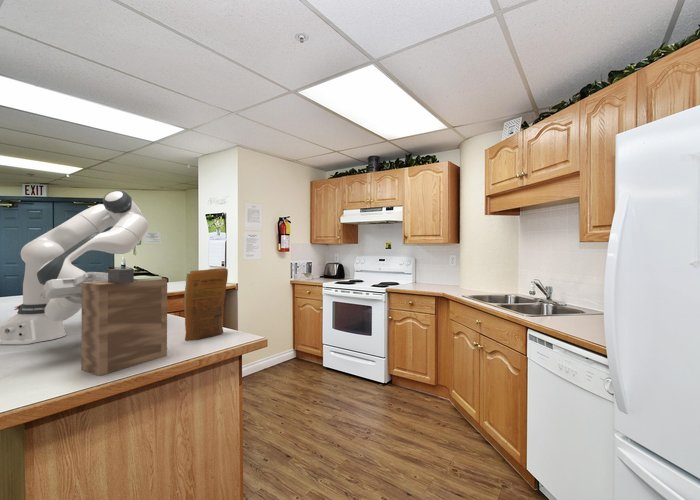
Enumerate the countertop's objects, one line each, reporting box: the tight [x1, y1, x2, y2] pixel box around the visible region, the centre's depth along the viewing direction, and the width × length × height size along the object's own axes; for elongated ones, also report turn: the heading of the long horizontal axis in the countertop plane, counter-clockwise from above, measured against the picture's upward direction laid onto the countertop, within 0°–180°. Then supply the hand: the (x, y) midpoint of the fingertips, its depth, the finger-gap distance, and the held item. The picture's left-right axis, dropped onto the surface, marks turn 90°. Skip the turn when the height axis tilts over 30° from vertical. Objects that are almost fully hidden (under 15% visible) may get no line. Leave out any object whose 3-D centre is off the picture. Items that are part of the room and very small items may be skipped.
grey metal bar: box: [85, 268, 135, 284], centre depth 100 cm, size 21×4×4 cm, turn 63°
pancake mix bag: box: [183, 267, 229, 341], centre depth 132 cm, size 7×19×28 cm, turn 142°
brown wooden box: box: [80, 275, 168, 377], centre depth 103 cm, size 10×20×27 cm, turn 153°
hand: (95, 274), depth 104 cm, fingers closed on grey metal bar, 2 cm apart
